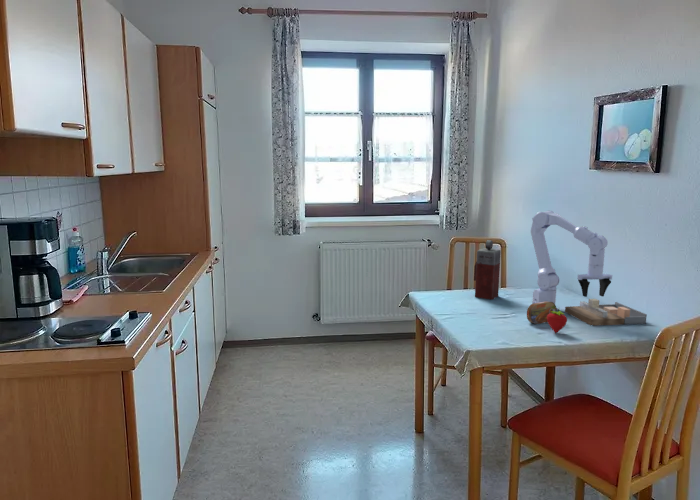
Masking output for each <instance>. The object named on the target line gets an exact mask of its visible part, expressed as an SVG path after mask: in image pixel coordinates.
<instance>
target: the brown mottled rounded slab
mask: <svg viewBox="0 0 700 500" xmlns="http://www.w3.org/2000/svg"><path fill="white" fill-rule="evenodd" d="M557 308H558V307H557V305H556V303H555V304H554V303H553V302H548V301H545V302H540V303H534V304H532V303H531V304H530V305H529V306H528V307H527V309H526V319H527V321H528V322H529V323H530V324H535V325H539V324H545V323H548V321H547V315H548V314H550V313H553V312H550V311H556V312H558V310H557Z"/></svg>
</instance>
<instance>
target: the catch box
mask: <svg viewBox="0 0 700 500" xmlns="http://www.w3.org/2000/svg"><path fill="white" fill-rule="evenodd" d="M599 307H600V308H602V309H604V307H615V308H618V307H625V308H627V309H630V317H626V318H624V325H647V316H648V314H646V313H644V312H642V311H639V310H637V309H634V308H632V307H630V306H627V305H625V304H622V303H619V302H618V301H616V302H615V301H614V303H613V304H610V303H609V304H604V303H603V304H599ZM604 310H605V309H604ZM606 311H607V310H606ZM615 315H616V314H615Z"/></svg>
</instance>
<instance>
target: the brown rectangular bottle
mask: <svg viewBox="0 0 700 500" xmlns="http://www.w3.org/2000/svg"><path fill="white" fill-rule="evenodd" d="M493 246H494V242H493V240H489V239H487V240H486V242H485V247H484V248H480V249H478V250H477V251H476V261H475V264H474V269H473V281H475V286H474V287H475V288H474V298H477V299H485V300H491V301H492V300H494V299H497V298H498V297H499V288H500V287H499V286H500V270H501V269H500V268H501V254H502V253H501V250H500V248H499V249H496V248H493Z"/></svg>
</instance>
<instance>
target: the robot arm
mask: <svg viewBox="0 0 700 500" xmlns="http://www.w3.org/2000/svg"><path fill="white" fill-rule="evenodd" d="M531 219H532V224H531V227H530V236H531V239H532V243H533V249H534V252H535V255H536V259H537V260H536V261H537V265H538V268H539V269H538V271H537V283H536V284H537V286H538V288H537V289H534V290H533V292H532V303H531V304H534V303H540V302H545V301H548V302H553V303H554V304H555V305H556V300H557V299H556V298H557V286H558V285H559V284H560V277H559V276H558V275H557V272H556V270H555V268H554V267H553V266H552V261H551V258H550V254H549V249H548V245H547V241H546V240H547V239H546V238H545V232H546V231H547V229H548V228H549V227H550V226H552V225H553V226H556V225H557V226H558V227H560V228H561V229H565V230H566V231H567V232H569V233H572V234H573V237H574V239H576V240H578V241H579V242H582V243H583V244H584V245H587V246H588V249H589V255H588V267H587V273H583V274H577V280H578V281H577V282H578V283H579V285H580V289H581V292H582V296H583V297H584V298H588V291H589V287H590V283H591V282H590V281H591V280H598V283H599V295H598V296H601V297H604V296H605V295H606V294H605V293H606V291H607V289H608V287H609V286H610V284H611V283H612V280H613V274H609V273H603V272H604V262H605V253H606V252H605V251H606V247H608V239H607V238H606V237H605V236H604V235H600V234H599V233H597V232H593V231H592V230H590V229H588V227H587V226H583V225H582V226H577V225H575V224H574V223H572V222H571V221H569V220H568V219H566V218H565V217H563V216H561V215H560V214H559V213H557V212H554V211H553V210H546V211H537V212H536V213H535V214H534V215H533V217H532V218H531ZM589 280H590V281H589ZM556 308H557V311H560V308H559V307H556Z"/></svg>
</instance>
